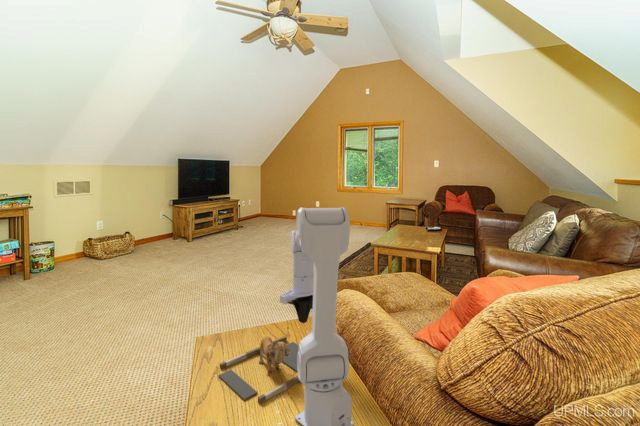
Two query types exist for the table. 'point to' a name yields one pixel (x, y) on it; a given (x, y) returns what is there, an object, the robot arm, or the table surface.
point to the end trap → (237, 384)
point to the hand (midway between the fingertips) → (302, 321)
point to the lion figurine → (273, 353)
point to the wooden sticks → (273, 391)
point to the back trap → (292, 356)
